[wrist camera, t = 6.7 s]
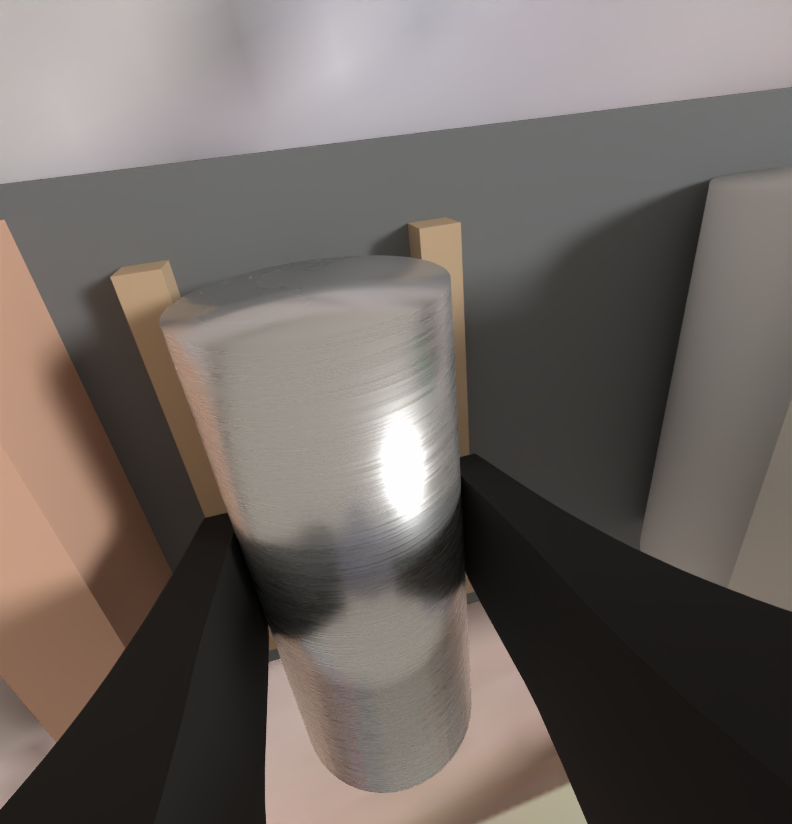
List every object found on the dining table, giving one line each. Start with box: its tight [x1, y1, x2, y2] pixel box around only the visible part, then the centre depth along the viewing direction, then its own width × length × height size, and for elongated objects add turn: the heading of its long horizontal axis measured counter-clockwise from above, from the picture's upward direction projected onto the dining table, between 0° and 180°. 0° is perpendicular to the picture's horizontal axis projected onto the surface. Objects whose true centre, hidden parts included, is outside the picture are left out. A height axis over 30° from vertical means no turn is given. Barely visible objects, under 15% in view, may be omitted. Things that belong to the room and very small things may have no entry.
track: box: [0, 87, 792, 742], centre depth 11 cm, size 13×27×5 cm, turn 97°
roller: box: [159, 255, 472, 793], centre depth 9 cm, size 10×4×4 cm, turn 7°
